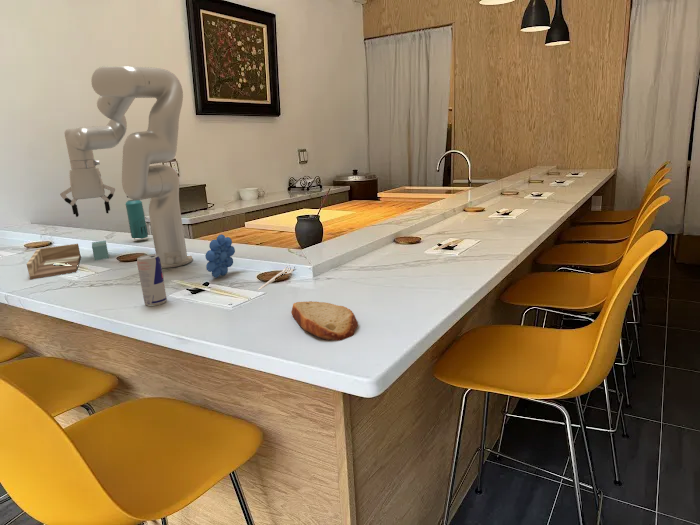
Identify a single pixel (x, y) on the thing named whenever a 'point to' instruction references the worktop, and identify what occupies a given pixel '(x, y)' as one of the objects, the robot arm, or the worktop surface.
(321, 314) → the bread slice
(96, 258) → the teal block
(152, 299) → the energy drink
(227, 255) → the grapes
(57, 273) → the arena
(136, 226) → the beverage bottle
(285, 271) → the fork
